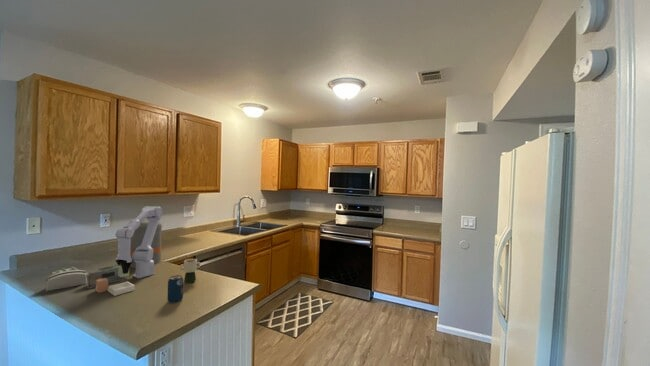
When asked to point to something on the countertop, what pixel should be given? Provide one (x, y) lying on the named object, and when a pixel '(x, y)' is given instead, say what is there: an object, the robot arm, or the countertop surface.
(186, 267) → the character mug
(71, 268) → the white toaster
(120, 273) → the sage green block
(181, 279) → the soda can
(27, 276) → the countertop surface
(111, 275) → the grey unit
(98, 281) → the terracotta block
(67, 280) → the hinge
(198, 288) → the countertop surface
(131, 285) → the off-white tray
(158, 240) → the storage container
